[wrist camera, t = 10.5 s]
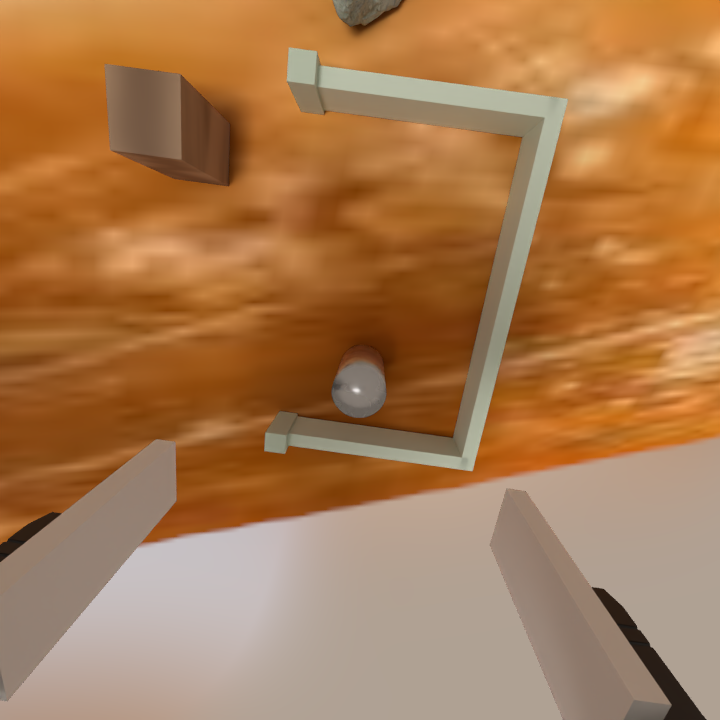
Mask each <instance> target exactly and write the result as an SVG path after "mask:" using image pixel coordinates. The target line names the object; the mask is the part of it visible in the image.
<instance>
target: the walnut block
mask: <svg viewBox="0 0 720 720" xmlns="http://www.w3.org/2000/svg"><path fill="white" fill-rule="evenodd" d="M105 78H106V93H107V109H108V125H109V140H110V150H111V151H113V152H115V153H118V154H120V155H122V156H124V157H127V158H129V159H131V160H133V161H136V162H138V163H140V164H142V165H145V166H147V167H149V168H151V169H154V170H156V171H158V172H160V173H163V174H165V175H167V176H169V177H172V178H174V179H179V180H186V181H194V182H201V183H208V184H216V185H223V186H229V149H230V123H229V122H228V121H227V120H226V119H225V118H224V117H223V116H222V115H221V114H220V113H219V112H218V111H217V110H216V109H215V108H214V107H213V106H212V105H211V104H210V103H209V102H208V101H207V100H206V99H205V98H204V97H203V96H202V95H201V94H200V93H199V92H198V91H197V90H196V89H195V88H194V87H193V86H192V85H191V84H190V83H189V82H188V81H187V80H186V79H185V78H184V77H183V76H182V75H181V74H176V73H168V72H161V71H153V70H146V69H139V68H131V67H124V66H116V65H109V64H105Z"/></svg>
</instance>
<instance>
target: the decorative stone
mask: <svg viewBox="0 0 720 720" xmlns="http://www.w3.org/2000/svg"><path fill="white" fill-rule="evenodd" d="M400 2H401V0H333V3H334V6H335V9H336V12H337V14H338V16H339V18H340V19H341V20H342V21H343V22H345V23H347V24H348V25H349V26H350V27H351V26H354V25H358V24H360V23H361V24H362V25H364V26H365V25H367V24H368V23H370V22H371V21H373V20H374V19H376V18H377V17H379V16H380V15H381V14H382V13H383V12H385V11H389V10H390V9H392V8H395V7H398V5H399V3H400Z"/></svg>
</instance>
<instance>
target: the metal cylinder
mask: <svg viewBox="0 0 720 720" xmlns="http://www.w3.org/2000/svg"><path fill="white" fill-rule="evenodd" d="M332 398H333V401H334V403H335V405H336V406H337V407H338V409H339V410H340V411H342V412H343V413H344V414H346V415H348V416H351V417H356V418H363V417H368V416H370V415H373V414H374V413H376V412H377V411H378V410H379V409H380V408H381V407H382V406H383V404H384V402H385V399H386V383H385V373H384V363H383V359H382V357H381V355H380V353H379V352H378V351H377V350H376V349H374V348H373V347H371V346H368V345H356V346H353V347H351V348H350V349H348V350H347V351H346V352H345V354H344V355H343V357H342V360H341V363H340V365H339V368H338V371H337V374H336V377H335V380H334V382H333V386H332Z"/></svg>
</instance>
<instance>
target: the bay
mask: <svg viewBox="0 0 720 720" xmlns="http://www.w3.org/2000/svg"><path fill="white" fill-rule="evenodd" d="M287 82H288V85H289V87H290V89H291V91H292V93H293V95H294V97H295V100H296V102H297V104H298V106H299V108H300V110H301V112H307V113H314V114H322V115H324V111H325V110H326V111H333V112H340V113H348V114H355V115H362V116H370V117H377V118H385V119H392V120H399V121H407V122H414V123H421V124H429V125H436V126H443V127H451V128H458V129H466V130H473V131H480V132H488V133H495V134H502V135H510V136H517V137H522V142H521V146H520V150H519V155H518V159H517V163H516V168H515V172H514V176H513V181H512V185H511V189H510V194H509V198H508V202H507V206H506V211H505V215H504V219H503V224H502V228H501V232H500V237H499V241H498V245H497V250H496V254H495V258H494V263H493V267H492V271H491V276H490V280H489V284H488V289H487V293H486V297H485V301H484V306H483V310H482V314H481V319H480V323H479V327H478V332H477V336H476V340H475V345H474V349H473V353H472V358H471V362H470V366H469V371H468V375H467V379H466V384H465V388H464V392H463V396H462V401H461V405H460V409H459V414H458V418H457V422H456V427H455V431H454V435H453V438H450V437H442V436H435V435H428V434H421V433H414V432H407V431H399V430H392V429H385V428H378V427H371V426H363V425H356V424H349V423H342V422H335V421H328V420H320V419H313V418H306V417H299V416H298V414H297V413H290V412H283V411H279V413H278V414H277V416H276V417H275V419H274V420H273V422H272V423H271V425H270V426H269V428H268V429H267V431H266V432H265V448H264V451H268V452H275V453H283V454H285V452H286V450H287V448H288V446H295V447H303V448H310V449H317V450H324V451H331V452H338V453H346V454H353V455H360V456H367V457H374V458H381V459H389V460H396V461H403V462H410V463H417V464H424V465H432V466H439V467H446V468H453V469H460V470H467V471H473V467H474V463H475V459H476V456H477V452H478V448H479V444H480V440H481V436H482V432H483V428H484V424H485V421H486V417H487V413H488V409H489V405H490V401H491V397H492V393H493V389H494V386H495V382H496V378H497V374H498V370H499V366H500V362H501V358H502V354H503V351H504V347H505V343H506V339H507V335H508V331H509V327H510V323H511V319H512V316H513V312H514V308H515V304H516V300H517V296H518V292H519V288H520V284H521V281H522V277H523V273H524V269H525V265H526V261H527V257H528V253H529V249H530V246H531V242H532V238H533V234H534V230H535V226H536V222H537V218H538V214H539V211H540V207H541V203H542V199H543V195H544V191H545V187H546V183H547V179H548V176H549V172H550V168H551V164H552V160H553V156H554V152H555V148H556V144H557V141H558V137H559V133H560V129H561V125H562V121H563V117H564V113H565V109H566V106H567V102H568V99H564V98H557V97H550V96H542V95H535V94H527V93H520V92H513V91H505V90H498V89H490V88H483V87H476V86H468V85H461V84H453V83H446V82H439V81H431V80H424V79H417V78H409V77H402V76H394V75H387V74H380V73H372V72H365V71H357V70H350V69H343V68H335V67H328V66H321V64H320V61H319V57H318V53H317V51H311V50H304V49H296V48H289V54H288V70H287Z"/></svg>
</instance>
